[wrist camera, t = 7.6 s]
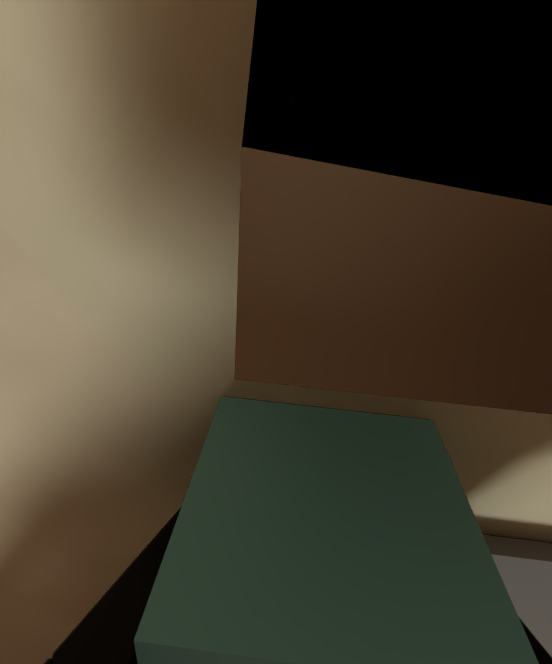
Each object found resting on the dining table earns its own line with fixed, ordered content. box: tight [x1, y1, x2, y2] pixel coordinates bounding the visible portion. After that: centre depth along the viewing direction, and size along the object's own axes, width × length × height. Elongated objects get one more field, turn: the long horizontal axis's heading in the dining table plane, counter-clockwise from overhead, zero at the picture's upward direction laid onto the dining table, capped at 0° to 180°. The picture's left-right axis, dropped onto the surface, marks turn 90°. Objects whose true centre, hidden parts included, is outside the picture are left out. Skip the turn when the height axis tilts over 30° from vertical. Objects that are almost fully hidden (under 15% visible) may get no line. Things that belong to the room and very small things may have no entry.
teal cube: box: [134, 396, 539, 664], centre depth 7 cm, size 4×4×4 cm
